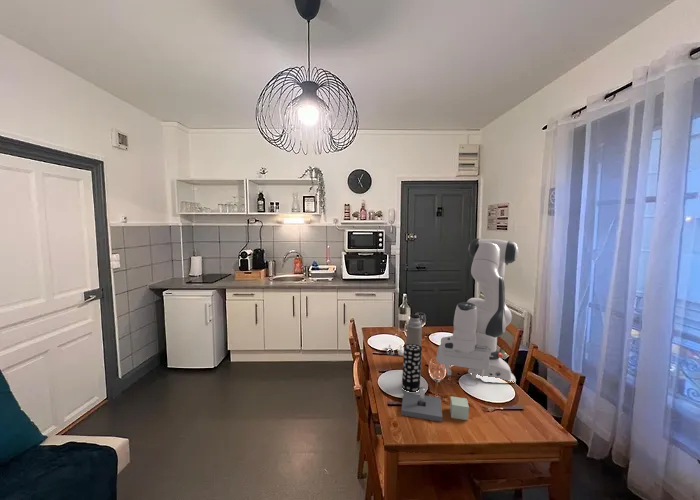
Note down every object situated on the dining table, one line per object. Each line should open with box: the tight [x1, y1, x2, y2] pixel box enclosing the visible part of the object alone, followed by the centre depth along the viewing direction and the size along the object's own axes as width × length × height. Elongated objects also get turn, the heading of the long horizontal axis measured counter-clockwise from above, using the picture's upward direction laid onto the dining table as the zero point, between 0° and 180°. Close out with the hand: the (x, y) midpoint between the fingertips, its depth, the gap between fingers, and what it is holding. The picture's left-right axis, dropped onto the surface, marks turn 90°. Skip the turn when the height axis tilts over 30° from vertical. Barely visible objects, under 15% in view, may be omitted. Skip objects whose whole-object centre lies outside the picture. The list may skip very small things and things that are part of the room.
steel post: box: [419, 386, 426, 407], centre depth 132 cm, size 2×2×8 cm
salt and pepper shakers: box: [385, 344, 404, 357], centre depth 189 cm, size 12×4×11 cm
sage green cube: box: [449, 395, 470, 421], centre depth 129 cm, size 6×6×6 cm
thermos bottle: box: [405, 313, 423, 347], centre depth 171 cm, size 8×8×28 cm
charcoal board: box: [400, 391, 443, 423], centre depth 132 cm, size 16×14×2 cm
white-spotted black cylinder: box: [401, 343, 423, 393], centre depth 147 cm, size 8×8×20 cm
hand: (461, 376), depth 127 cm, fingers open, 8 cm apart
